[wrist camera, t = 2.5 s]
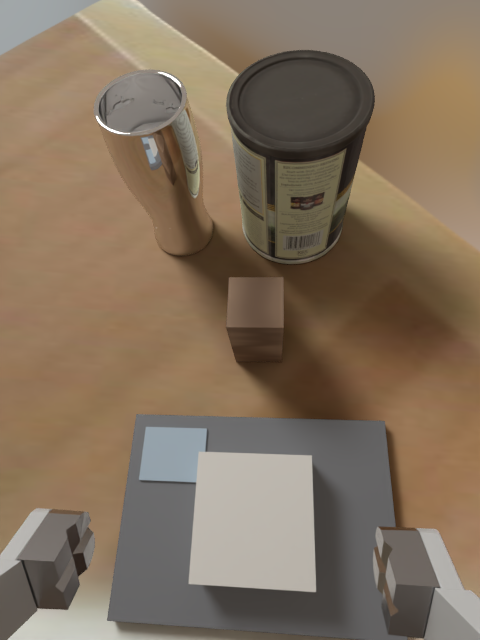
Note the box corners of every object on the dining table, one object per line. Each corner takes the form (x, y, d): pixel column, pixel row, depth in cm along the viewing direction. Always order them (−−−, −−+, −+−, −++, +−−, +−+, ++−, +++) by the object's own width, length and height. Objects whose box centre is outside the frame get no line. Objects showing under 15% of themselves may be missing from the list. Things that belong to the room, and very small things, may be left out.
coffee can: (301, 168, 43) (313, 30, 30) (363, 231, 39) (408, 103, 26) (222, 213, 41) (199, 88, 29) (278, 283, 38) (281, 175, 25)
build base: (112, 616, 28) (88, 635, 24) (140, 416, 33) (123, 407, 30) (403, 637, 26) (424, 661, 22) (381, 423, 32) (395, 414, 28)
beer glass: (155, 205, 42) (99, 70, 29) (219, 203, 42) (192, 64, 28) (148, 261, 40) (81, 139, 26) (216, 259, 39) (185, 134, 25)
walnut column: (236, 361, 35) (226, 327, 27) (238, 320, 36) (229, 277, 29) (281, 362, 34) (283, 327, 27) (281, 320, 36) (283, 277, 29)
